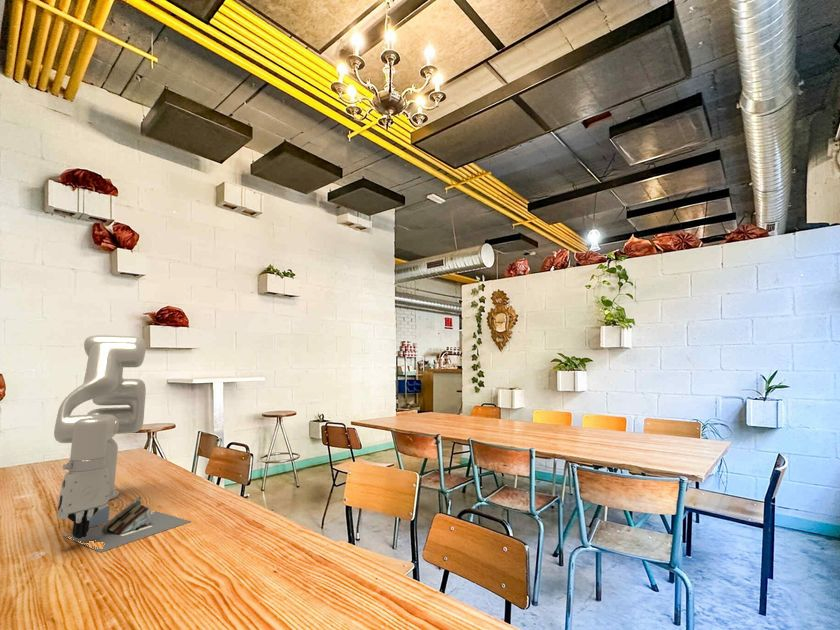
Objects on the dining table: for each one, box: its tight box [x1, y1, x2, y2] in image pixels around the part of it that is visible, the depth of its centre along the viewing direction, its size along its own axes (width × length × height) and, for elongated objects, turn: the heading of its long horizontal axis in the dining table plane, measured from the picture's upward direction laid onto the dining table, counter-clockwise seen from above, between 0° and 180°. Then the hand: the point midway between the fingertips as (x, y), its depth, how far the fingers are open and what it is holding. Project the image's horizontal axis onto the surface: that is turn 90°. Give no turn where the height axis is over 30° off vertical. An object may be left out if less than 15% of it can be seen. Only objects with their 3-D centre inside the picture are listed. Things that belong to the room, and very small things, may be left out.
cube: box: [81, 504, 111, 529], centre depth 124 cm, size 5×5×5 cm
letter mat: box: [63, 510, 192, 553], centre depth 120 cm, size 20×24×1 cm
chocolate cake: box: [102, 496, 152, 534], centre depth 121 cm, size 10×7×12 cm
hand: (80, 536), depth 109 cm, fingers closed
